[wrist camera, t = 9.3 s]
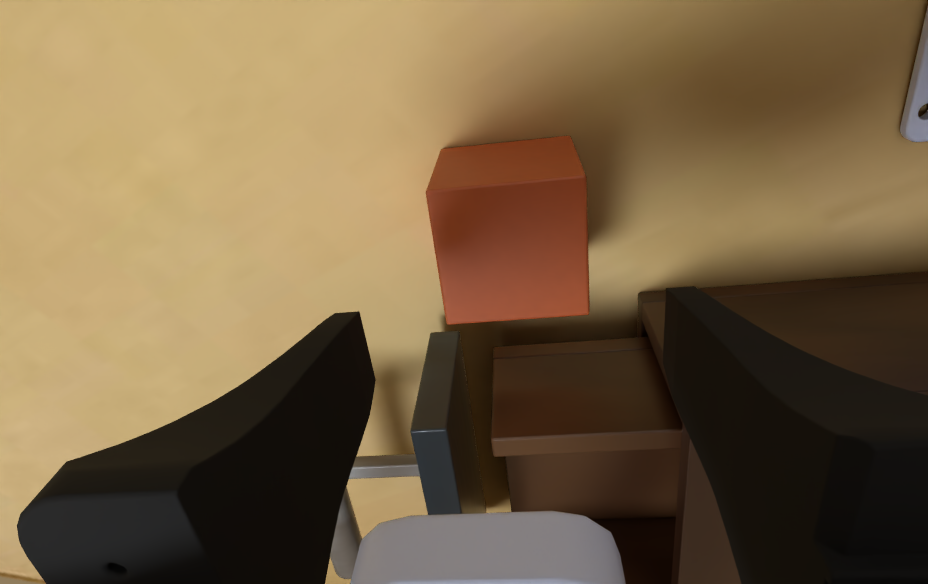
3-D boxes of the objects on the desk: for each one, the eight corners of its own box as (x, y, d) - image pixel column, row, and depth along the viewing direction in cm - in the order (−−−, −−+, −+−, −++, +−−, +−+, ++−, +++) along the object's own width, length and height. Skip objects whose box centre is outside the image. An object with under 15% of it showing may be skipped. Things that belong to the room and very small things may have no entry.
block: (440, 148, 21) (424, 190, 17) (570, 134, 20) (587, 174, 16) (456, 263, 23) (446, 325, 19) (574, 254, 23) (590, 315, 19)
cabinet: (633, 513, 29) (670, 674, 22) (637, 292, 23) (690, 422, 17) (951, 503, 27) (1094, 673, 21) (1045, 262, 22) (1285, 393, 15)
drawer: (367, 528, 30) (339, 644, 24) (313, 340, 24) (262, 438, 19) (749, 516, 27) (804, 640, 22) (782, 307, 22) (865, 408, 17)
